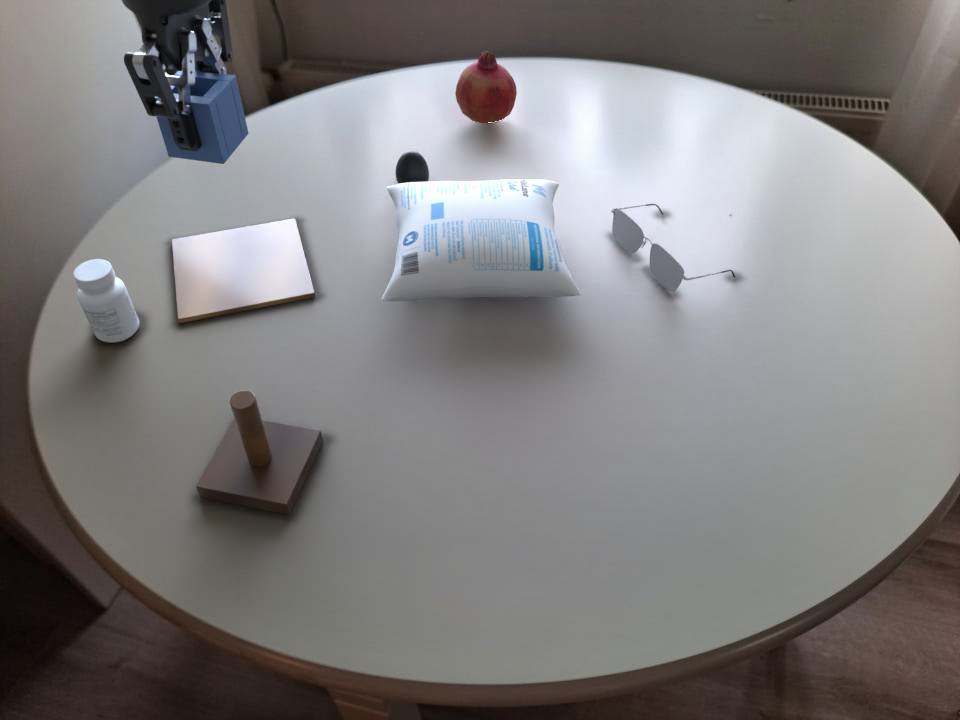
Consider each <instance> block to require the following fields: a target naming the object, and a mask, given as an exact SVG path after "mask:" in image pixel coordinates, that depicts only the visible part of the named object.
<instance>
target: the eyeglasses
mask: <svg viewBox="0 0 960 720" xmlns="http://www.w3.org/2000/svg"><path fill="white" fill-rule="evenodd" d="M650 206H655V207H656V208H657V209H658V210H659V212H660V214H661V215H662V216H663V215H664V212H663V211H662V209H661V207H660V206H659V205H658V204H656V203H646V204H641V205H632V206H624V207H623V206H622V207H615V208H611V209H610V212H611V213H612V214H613V216H612V226H611V227H612V228H611V230H612V235H613V238H614V240H615V241H616V242H617V244H619V245H620V246H621V247H622V248H623V249H624V250H626V251H627V252H629V253H630V254H635V253H637V252H638V251H639V249H643V248H644V247H645V245H646V244H647V241H648V242H650V245H651V246H650V250H649V251H650V253H649V269H650V272H651V274H652V276H653V277H654V278H655V280H656V281H657V282H658V283H659V284H660V285H661V286H662V287H663V288H664V289H665V290H667V291H668V292H676V291H677V290H678V288H679V287H680V286H681V284H682V281H683V280H684V281H691V280H696V279H700V278H705V277H708V276H709V277H710V276H714V275H718V274H724V273H728V272H731V275H732V278H734V279H735V278H736V277H737V276H736V275H735V272H734V271H733V270H732V269H727V270H726V269H725V270H722V271H717V272H712V273H707V274H701V275H696V276H695V275H694V276H690V277H687V276H685V269H684V267H683V266H682V265H681V264H680V262H679V261H678V260H677V259H676V258H675V257H674V256H673V255H672V254H671V253H670V252H669V251H668V250H666V249H665V247H663V246H662V245H661V244H659V243H657V242H654V243H653V242H652V240H651V239H650V238H648V237H647V236H645V234H644V230H643V229H642V228H641V226H640V225H639V224H638V223H637V222H636V221H635V220H634V219H632V218H633V217H630V215H628V214H627V213H626V212H625V211H623V210H627V209H634V208H640V207H650Z"/></svg>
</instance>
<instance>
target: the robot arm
mask: <svg viewBox="0 0 960 720" xmlns="http://www.w3.org/2000/svg"><path fill="white" fill-rule="evenodd" d="M121 2H122V4H123V6H124V7H125V8H126V9H128V10H129V11H130V12H132V13H133V15H135V16H136V17H137V18H138V20H139V22H140V27H141V41H142V45H141V47H140V48H139V49H138V50H137V51H136V52H129V51H128V52H125V53H124V55H123V63H124V66H125V68H126V71H127V73H128V74H129V77H130V79H131V81H132V84H133V86H134V87H135V89H136V92H137V94H138V96H139V98H140V101H141V103H142V105H143V107H144V109H145V111H146V114H147V115H148V116H149V117H156V116H159V117H167V119H168V122H169V125H170V129H171V132H172V135H173V139H174V142H175V144H176V145H177V147H178V148H180V149H182V150H189V151H198V150H199V149H200V147H201V146H202V143H201V140H200V136H199V132H198V129H197V125H196V121H195V118H194V114H193V111H191V87H193V86H194V85H195V71H201V72H210V73H218V74H227V66H226V64H227V63H233V59H234V52H233V51H234V50H233V44H232V36H231V30H230V22H229V13H228V6H227V0H121ZM215 36H217V37H218V38H219V42H220V45H219V42H218V41H217V39H216V37H215ZM166 69H168V70H169V71H170V70H171V71H176V72H178V71H182V75H181V76H174V75H173V74H172V75H171V74H168V73H167V72H166ZM170 85H171V86H176V87H177V88H178V94H179V100H176V99H175V96H174V94H173V92H172V89H171V87H170ZM155 96H156V97H158V101H156V99H155Z"/></svg>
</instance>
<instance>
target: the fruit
mask: <svg viewBox="0 0 960 720" xmlns="http://www.w3.org/2000/svg"><path fill="white" fill-rule="evenodd" d="M478 55H479V56H478V57H477V61H475V62H472V63H470V64H469V65H468V66H466V68H464V69H463V71H462V72H461V74H460V75H459V78H458V81H457V84H456V86H455V99H456V103H457V105H458V106H459V109H460V111H461V113H462V114H463V115H464V116H465V117H467V118H468V119H470V120H471V121H472V122H473V121H475V122H474V123H477V122H479V123H478V124H483V125H492V124H493V123H488V122H495V121H499V120H501V121H503V120H504V119H506V118H507V117H508V116H510V115H511V114H512V111H513V109H514V107H515V104H516V99H517V94H518V91H517V84H516V82H515V80H514V78H513V76H512V75H511V74H510V72H509V71H508V69H506V68H505V67H504V66H503V65H501V64H500V63H498V61H497V58H496V56H495V54H494V53H493V52H489V51H488V50H483V51H482V52H481V53H480V54H478ZM505 117H506V118H505ZM502 119H503V120H502ZM499 122H500V121H499ZM496 123H498V122H495V123H494V124H496Z"/></svg>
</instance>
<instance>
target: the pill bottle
mask: <svg viewBox="0 0 960 720" xmlns="http://www.w3.org/2000/svg"><path fill="white" fill-rule="evenodd" d="M73 277H74V281H75V283H76V285H77V287H78V290H77V294H76V295H77V300H78V302H79V305H80V307H81V309H82V311H83V314H84V315H85V318H86V320H87V322H88V324H89V326H90V328H91V330H92V332H93V334H94V336H95V337H96V338H97V339H98V340H99V341H101V342H104V343H113V344H114V343H120V342H123V341H125V340H128V339H129V338H130V337H132V336H133V335H134V334H136V332H137V331H138V330H139V327H140V319H139V316H138V314H137V311H136V309H135V306H134V304H133V302H132V299H131V297H130V294H129V292H128V289H127V287H126V284H125V283H124V281H123V280H122V279H120V278H119V277H117V276H116V272H115V270H114V268H113V266H112V264H111V262H109V261H108V260H106V259H102V258H93V259H88V260H86V261H84V262H82V263H80V264H79V265H77V266H76V267H75V269H74V271H73Z"/></svg>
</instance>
